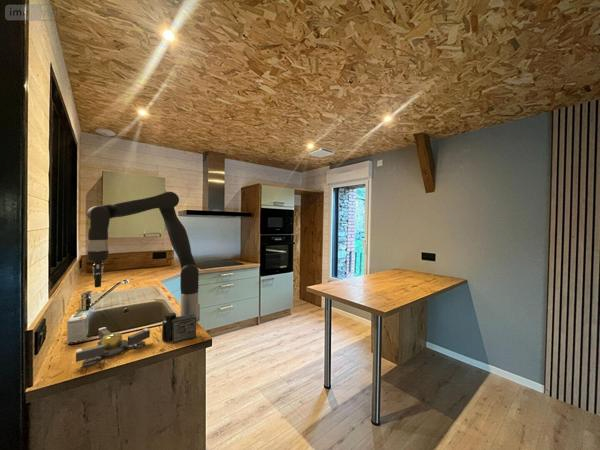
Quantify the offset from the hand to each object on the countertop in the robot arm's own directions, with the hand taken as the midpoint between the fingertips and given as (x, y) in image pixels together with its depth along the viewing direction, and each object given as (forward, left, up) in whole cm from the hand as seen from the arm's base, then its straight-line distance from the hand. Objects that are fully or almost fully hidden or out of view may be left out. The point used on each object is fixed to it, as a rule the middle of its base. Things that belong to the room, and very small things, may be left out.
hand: (98, 285), depth 111 cm
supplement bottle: (-20, +22, -28) cm, 41 cm away
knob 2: (-9, +16, -27) cm, 32 cm away
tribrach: (0, +8, -28) cm, 29 cm away
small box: (-24, +28, -28) cm, 46 cm away
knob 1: (+8, +13, -27) cm, 31 cm away
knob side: (-3, 0, -27) cm, 27 cm away
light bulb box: (0, -18, -28) cm, 34 cm away
